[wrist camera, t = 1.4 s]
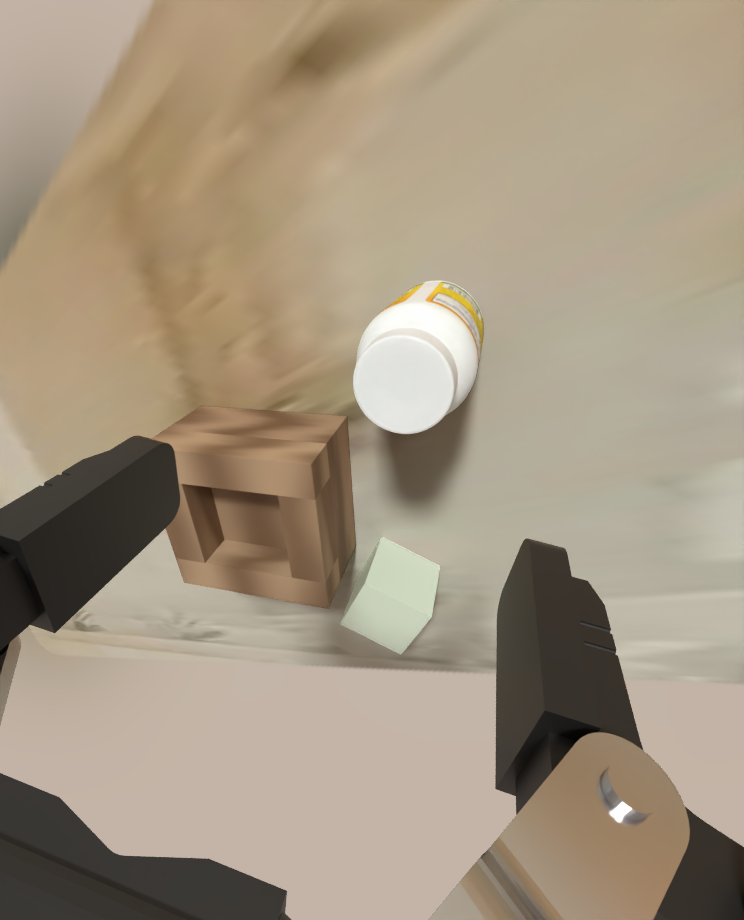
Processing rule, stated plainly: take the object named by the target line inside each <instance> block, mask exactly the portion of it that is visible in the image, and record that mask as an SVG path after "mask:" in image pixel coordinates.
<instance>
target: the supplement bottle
mask: <svg viewBox="0 0 744 920" xmlns="http://www.w3.org/2000/svg"><path fill="white" fill-rule="evenodd" d="M483 334H484V323H483V317H482V313H481V311H480V308H479V306H478V304H477V302H476V301H475V300H474V298H473V297H472V296H471V295H470V294H469V293H468V292H467V291H466V290H464V289H463V288H461V287H460V286H458V285H456V284H453V283H450V282H446V281H428V282H424V283H421V284H419V285H416V286H414V287H413V288H411V289H410V290H408V291H407V292H406V293H404V294H403V295H402V296H401V297H399V298H398V299H397V300H396V301H395V302H393V303H392V304H391V305H390V306H388V307H387V308H386V309H384V310H383V311H382V312H381V313H380V314H379V315H378V316H376V317H375V318H374V320H373V321H372V322H371V323H370V324H369V325H368V327H367V328H366V330H365V332H364V334H363V336H362V338H361V340H360V343H359V347H358V352H357V364H356V367H355V371H354V376H353V388H354V393H355V397H356V400H357V402H358V404H359V406H360V408H361V410H362V411H363V413H364V414H365V415H366V416H367V417H368V418H369V419H370V420H371V421H372V422H373V423H375V424H376V425H377V426H379V427H381V428H383V429H385V430H387V431H390V432H394V433H399V434H414V433H419V432H422V431H425V430H427V429H429V428H431V427H433V426H434V425H436V424H437V423H438V422H439V421H440V420H441V419H442V418H443V417H444V416H445V415H447V414H448V413H450V412H452V411H453V410H454V409H456V408H457V407H458V406H459V405H460V404H461V403H462V402H463V401H464V400H465V398H466V397H467V395H468V394H469V392H470V390H471V389H472V387H473V384H474V381H475V378H476V375H477V370H478V365H479V359H480V353H481V347H482V342H483Z"/></svg>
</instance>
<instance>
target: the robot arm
mask: <svg viewBox="0 0 744 920" xmlns="http://www.w3.org/2000/svg"><path fill="white" fill-rule="evenodd" d="M179 506H180V491H179V483H178V475H177V467H176V459H175V452H174V449H173V447H172V446H171V445H170V444H168V443H165V442H161V441H157V440H153V439H149V438H146V437H142V436H133V437H131V438H129V439H127V440H126V441H124V442H123V443H121V444H119V445H118V446H116V447H114V448H113V449H111V450H110V451H107V452H104V453H101V454H98V455H95V456H92V457H89V458H86V459H83V460H81V461H80V462H78V463H76V464H75V465H73V466H71V467H70V468H68V469H66V470H65V471H63V472H62V475H56V476H55V477H53V478H51V479H50V480H48V481H46V482H45V483H44V486H38V487H36V488H35V489H33V490H31V491H30V492H28V493H26V494H25V495H23V496H21V497H20V498H18V499H16V500H15V501H13V502H11V503H10V504H8V505H6V506H5V507H3V508H1V509H0V724H1V720H2V717H3V713H4V709H5V705H6V702H7V698H8V694H9V690H10V686H11V683H12V679H13V675H14V671H15V667H16V664H17V660H18V656H19V652H20V648H21V639H20V636H19V634H20V633H21V632H22V631H23V630H24V629H26V628H27V627H28V626H29V625H33V626H36V627H39V628H41V629H44V630H47V631H50V632H53V633H56V632H57V631H58V630H59V629H60V628H61V627H62V626H63V625H64V624H65V623H66V622H67V621H68V620H69V619H70V618H71V617H72V616H73V615H74V614H76V613H77V612H78V611H79V610H80V609H81V608H82V607H83V606H84V605H85V604H86V603H87V602H88V601H89V600H90V599H91V598H92V597H93V596H94V595H95V594H97V593H98V592H99V591H100V590H101V589H102V588H103V587H104V586H105V585H106V584H107V583H108V582H109V581H110V580H111V579H112V578H113V577H114V576H115V575H117V574H118V573H119V572H120V571H121V570H122V569H123V568H124V567H125V566H126V565H127V564H128V563H129V562H130V561H131V560H132V559H133V558H134V557H135V556H136V555H138V554H139V553H140V552H141V551H142V550H143V549H144V548H145V547H146V546H147V545H148V544H149V543H150V542H151V541H152V540H153V539H154V538H155V537H156V536H158V535H159V534H160V533H161V532H162V531H163V530H164V529H165V528H166V527H167V526H168V525H169V524H170V523H171V522H172V521H173V519H174V518H175V516H176V514H177V512H178V509H179ZM610 630H611V628H610V624H609V620H608V617H607V613H606V609H605V605H604V604H603V602H602V601H601V599H600V598H599V596H598V595H597V594H596V592H595V591H594V589H593V588H592V586H591V585H590V584H589V582H588V581H586V580H582V579H578V578H574V577H572V576H571V571H570V566H569V561H568V555H567V552H566V550H565V549H564V548H562V547H558V546H554V545H550V544H546V543H543V542H539V541H535V540H531V539H525V540H524V541H523V543H522V545H521V547H520V550H519V552H518V555H517V557H516V559H515V562H514V564H513V566H512V569H511V571H510V574H509V576H508V578H507V581H506V583H505V586H504V588H503V591H502V594H501V597H500V601H499V606H498V613H497V674H496V677H497V678H496V789H498V790H500V791H503V792H506V793H509V794H512V795H514V796H516V816H515V818H514V819H513V820H512V821H511V823H510V824H509V825H508V826H507V827H506V829H505V830H504V831H503V832H502V834H501V835H500V836H499V837H498V839H497V840H496V841H495V842H494V843H493V844H492V846H491V847H490V848H489V849H488V850H487V851H486V852H485V853H484V854H483V855H482V856H481V857H480V858H479V859H478V861H477V862H476V863H475V864H474V866H472V868H471V869H470V870H469V871H468V872H467V874H466V875H465V876H464V877H463V878H462V880H461V881H460V882H459V883H458V884H457V886H456V887H455V888H454V889H453V891H452V892H451V893H450V894H449V895H448V897H447V898H446V899H445V900H444V901H443V903H442V904H441V905H440V906H439V907H438V909H437V910H436V911H435V912H434V914H433V915H432V916H431V917H430V918H429V920H744V847H742V846H741V845H739V844H738V843H736V842H735V841H733V840H732V839H730V838H728V837H727V836H726V835H724V834H722V833H721V832H719V831H718V830H716V829H715V828H713V827H712V826H710V825H709V824H707V823H706V822H704V821H703V820H701V819H700V818H699V817H697V816H696V815H694V814H693V813H692V812H691V811H690V810H689V809H687V808H686V807H685V806H684V804H683V801H682V799H681V796H680V795H679V793H678V791H677V790H676V787H675V786H674V784H673V783H672V781H671V780H670V778H669V777H668V775H667V774H666V773H665V772H664V771H663V769H662V768H661V767H660V766H659V765H658V764H657V763H656V762H655V761H654V760H653V759H652V758H651V757H650V756H649V755H648V754H646V753H645V752H644V751H643V748H642V745H641V742H640V738H639V734H638V731H637V727H636V723H635V719H634V715H633V712H632V708H631V704H630V700H629V696H628V693H627V689H626V685H625V681H624V677H623V674H622V670H621V666H620V662H619V658H618V656H617V655H616V647H615V643H614V639H613V636H612V634H610ZM286 895H287V891H286V890H283V889H281V888H278V887H276V886H273V885H271V884H268V883H266V882H264V881H261V880H259V879H256V878H254V877H252V876H249V875H247V874H244V873H242V872H239V871H237V870H234V869H232V868H229V867H227V866H225V865H222V864H220V863H218V862H215V861H212V860H210V859H196V858H169V857H140V856H122V855H118V854H115V853H113V852H112V851H111V850H109V849H108V848H107V847H106V846H105V845H104V843H102V841H101V840H100V839H99V838H98V837H97V836H96V835H95V834H94V833H93V832H92V831H91V830H90V829H89V828H88V827H87V826H86V825H85V824H84V823H83V822H82V820H81V819H80V818H79V817H78V816H77V815H76V814H75V813H74V812H73V811H72V810H71V809H70V808H69V807H68V806H67V805H66V804H65V803H64V802H63V801H62V800H61V799H60V798H59V797H57V796H54V795H52V794H49V793H47V792H45V791H42V790H40V789H37V788H35V787H33V786H30V785H28V784H25V783H23V782H20V781H18V780H15V779H13V778H10V777H8V776H6V775H3V774H1V773H0V920H291V919H290V918H289V917H288V916H287V915H286V914H285V907H286Z"/></svg>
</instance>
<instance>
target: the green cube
mask: <svg viewBox="0 0 744 920" xmlns="http://www.w3.org/2000/svg"><path fill="white" fill-rule="evenodd" d="M439 571H440V566H439V565H437V564H435V563H433V562H431V561H429V560H427V559H425V558H423V557H421V556H419V555H417V554H415V553H413V552H411V551H410V550H408V549H406V548H404V547H402V546H400V545H398V544H396V543H394V542H392V541H390V540H388V539H386V538H384V537H381V539H380V540H379V542H378V544H377V545H376V547H375V549H374V550H373V552H372V554H371V555H370V557H369V559H368V560H367V562H366V564H365V565H364V567H363V569H362V571H361V572H360V574H359V576H358V578H357V580H356V583H355V586H354V588H353V591H352V593H351V596H350V599H349V601H348V604H347V606H346V609H345V611H344V614H343V617H342V619H341V622H340V624H341V625H343V626H345V627H347V628H349V629H351V630H353V631H355V632H357V633H359V634H361V635H363V636H365V637H367V638H368V639H370V640H372V641H374V642H376V643H378V644H380V645H382V646H384V647H386V648H388V649H390V650H392V651H394V652H396V653H398V654H400V655H401V654H402V653H403V652H404V650H405V649H406V648H407V647H408V646H409V644H410V643H411V642H412V641H413V639H414V638H415V637H416V636H417V635H418V633H419V632H420V631H421V630H422V628H423V627H424V626H425V625H426V623H427V622H428V621H429V620H430V619H431V617H432V613H433V607H434V601H435V595H436V589H437V583H438V577H439Z"/></svg>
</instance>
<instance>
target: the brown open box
mask: <svg viewBox="0 0 744 920" xmlns="http://www.w3.org/2000/svg"><path fill="white" fill-rule="evenodd" d="M152 439H153V440H157V441H161V442H165V443H168V444H170V445H171V446H172V447H173V449H174V452H175V459H176V467H177V475H178V483H179V491H180V506H179V509H178V512H177V514H176V516H175V518H174V519H173V521H172V522H171V523H170V524H169V525H168V526H167V527H166V531H167V533H168V536H169V539H170V542H171V545H172V548H173V551H174V554H175V557H176V560H177V563H178V566H179V569H180V572H181V575H182V578H183V581H184V583H189V584H195V585H200V586H206V587H211V588H217V589H222V590H228V591H233V592H239V593H244V594H250V595H255V596H261V597H266V598H272V599H277V600H283V601H288V602H294V603H300V604H305V605H311V606H316V607H322V608H327V609H329V606H330V604H331V602H332V599H333V597H334V595H335V593H336V590H337V588H338V586H339V583H340V581H341V579H342V576H343V574H344V572H345V569H346V567H347V565H348V562H349V560H350V558H351V555H352V553H353V551H354V549H355V546H356V538H355V524H354V509H353V495H352V481H351V467H350V452H349V438H348V424H347V416H336V415H322V414H308V413H294V412H280V411H266V410H252V409H238V408H224V407H210V406H200V407H199V408H197V409H196V410H194V411H193V412H191V413H190V414H188V415H187V416H185V417H184V418H182V419H181V420H179V421H178V422H176V423H175V424H173V425H171V426H170V427H168V428H167V429H165V430H164V431H162V432H161V433H159V434H158V435H156V436H155V437H153V438H152Z"/></svg>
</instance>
